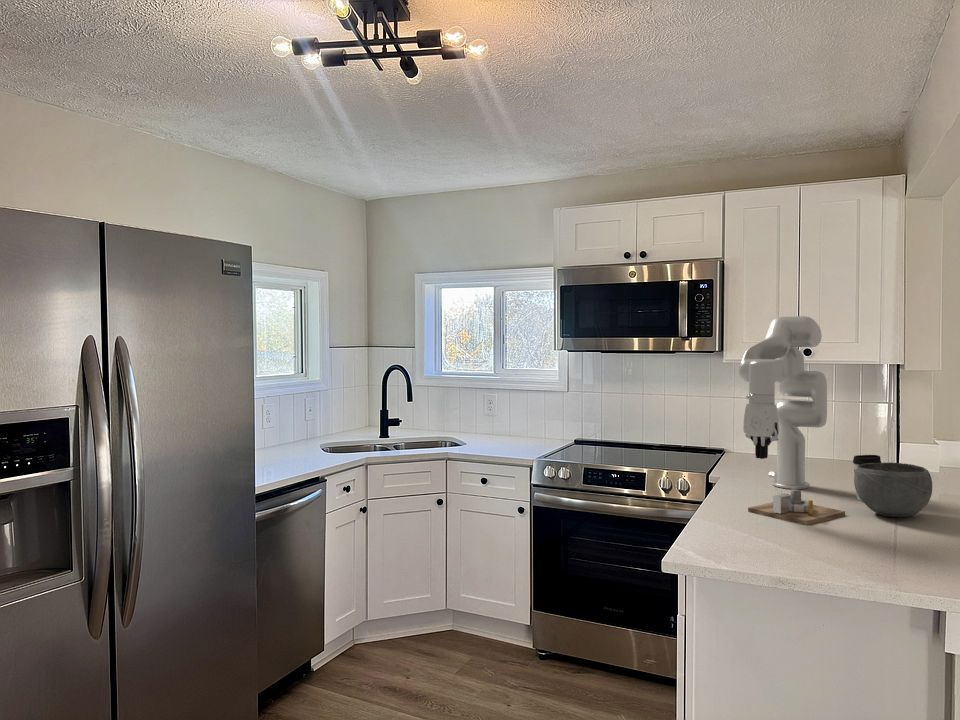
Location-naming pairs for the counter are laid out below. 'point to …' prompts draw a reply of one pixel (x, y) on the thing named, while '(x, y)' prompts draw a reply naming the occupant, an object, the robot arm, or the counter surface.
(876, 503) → the bowl
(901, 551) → the counter surface
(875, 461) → the coffee cup
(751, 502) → the counter surface
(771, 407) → the robot arm
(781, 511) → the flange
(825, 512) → the post base
